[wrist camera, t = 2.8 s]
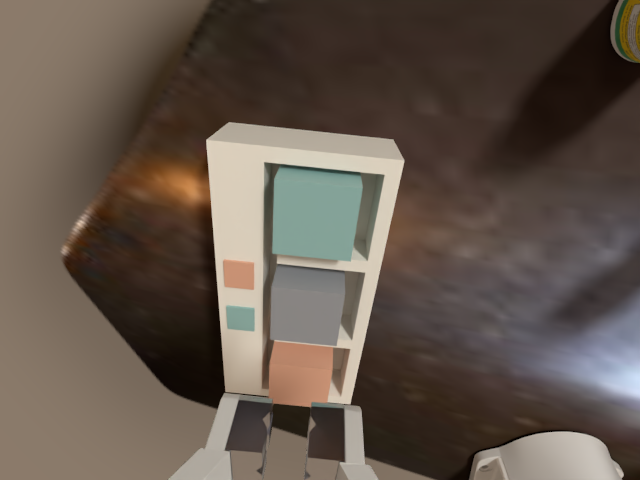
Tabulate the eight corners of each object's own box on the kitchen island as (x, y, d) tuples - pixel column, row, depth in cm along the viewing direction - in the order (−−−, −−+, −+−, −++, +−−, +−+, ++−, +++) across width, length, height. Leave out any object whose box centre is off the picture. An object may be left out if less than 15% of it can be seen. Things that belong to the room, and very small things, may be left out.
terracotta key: (327, 379, 33) (326, 408, 31) (274, 374, 33) (268, 402, 31) (333, 342, 31) (332, 369, 28) (275, 336, 31) (269, 363, 28)
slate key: (336, 319, 29) (336, 346, 27) (276, 312, 29) (270, 339, 27) (344, 269, 27) (345, 294, 24) (278, 262, 27) (271, 286, 24)
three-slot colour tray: (348, 362, 37) (350, 406, 33) (238, 350, 37) (224, 393, 33) (393, 139, 25) (405, 161, 21) (229, 122, 25) (205, 140, 20)
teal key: (349, 238, 25) (350, 261, 23) (279, 231, 25) (272, 253, 23) (360, 171, 23) (362, 188, 20) (281, 162, 23) (274, 178, 20)
